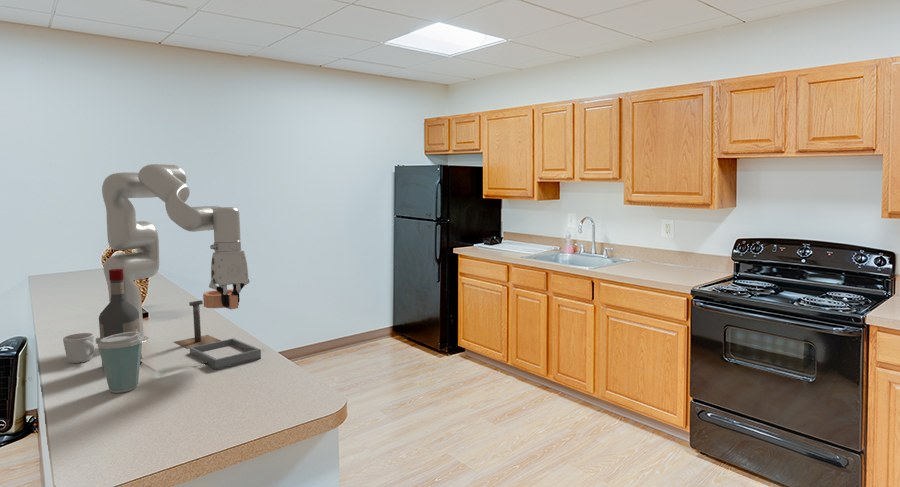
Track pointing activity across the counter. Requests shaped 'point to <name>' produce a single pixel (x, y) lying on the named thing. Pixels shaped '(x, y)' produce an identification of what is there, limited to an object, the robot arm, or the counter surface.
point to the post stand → (196, 330)
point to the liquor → (118, 310)
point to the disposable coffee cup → (121, 360)
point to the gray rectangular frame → (230, 360)
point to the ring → (219, 300)
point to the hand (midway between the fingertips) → (230, 305)
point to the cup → (79, 347)
